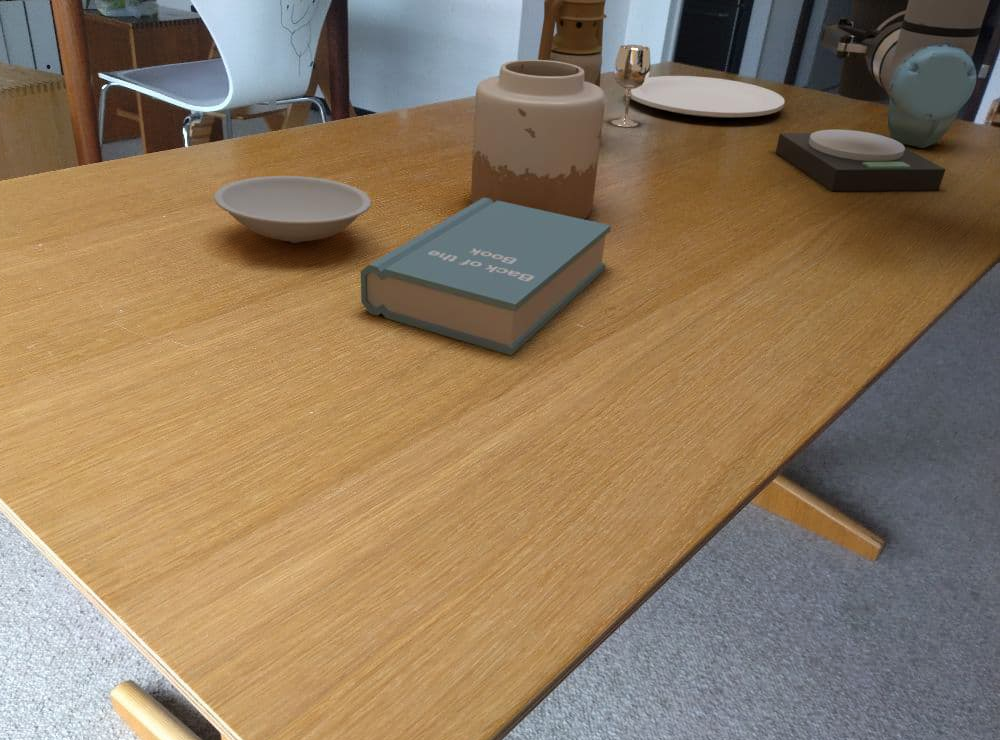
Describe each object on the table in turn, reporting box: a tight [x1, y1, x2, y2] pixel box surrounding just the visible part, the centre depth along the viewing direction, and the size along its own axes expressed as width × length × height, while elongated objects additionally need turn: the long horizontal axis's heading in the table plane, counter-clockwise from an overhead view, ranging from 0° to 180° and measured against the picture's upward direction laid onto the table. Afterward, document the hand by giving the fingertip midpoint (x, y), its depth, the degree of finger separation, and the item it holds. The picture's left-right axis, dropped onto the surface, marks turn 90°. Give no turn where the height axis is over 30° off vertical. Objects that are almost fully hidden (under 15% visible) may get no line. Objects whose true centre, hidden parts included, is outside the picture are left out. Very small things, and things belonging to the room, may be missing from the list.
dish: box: [213, 175, 372, 244], centre depth 97 cm, size 18×14×5 cm
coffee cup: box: [837, 0, 909, 102], centre depth 118 cm, size 10×10×15 cm
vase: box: [470, 59, 606, 220], centre depth 106 cm, size 15×15×17 cm
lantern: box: [537, 0, 608, 88], centre depth 128 cm, size 15×10×30 cm
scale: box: [775, 129, 946, 192], centre depth 128 cm, size 18×16×4 cm
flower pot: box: [887, 97, 961, 149], centre depth 140 cm, size 9×9×9 cm
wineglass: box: [611, 44, 651, 128], centre depth 144 cm, size 6×6×12 cm
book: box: [360, 198, 611, 356], centre depth 88 cm, size 23×16×5 cm
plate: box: [625, 75, 786, 119], centre depth 159 cm, size 28×28×2 cm
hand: (871, 28), depth 122 cm, fingers closed on coffee cup, 8 cm apart
